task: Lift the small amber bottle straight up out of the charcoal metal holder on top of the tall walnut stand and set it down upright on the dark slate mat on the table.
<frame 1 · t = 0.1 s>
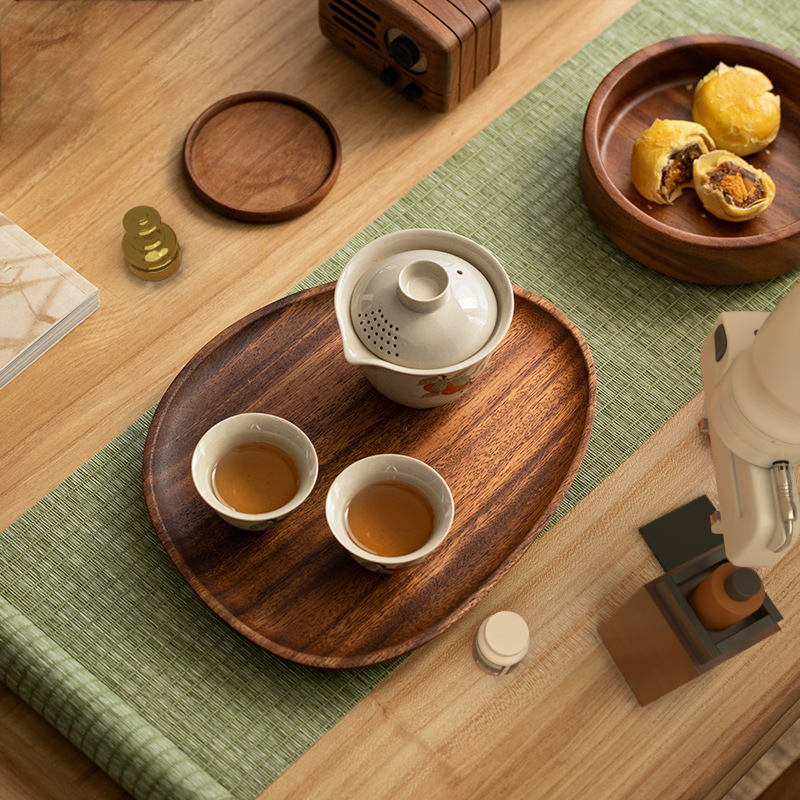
hand: (712, 475, 83), 31 cm above the table, tool pointing down, fingers open, 8 cm apart
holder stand: (653, 649, 107), on the table
pill bottle: (495, 652, 106), on the table
brass knob weight: (155, 261, 129), on the table
amber bottle: (711, 607, 89), point 20 cm above the table, touching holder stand
slate mat: (694, 547, 112), on the table
pepper mill: (731, 438, 119), on the table
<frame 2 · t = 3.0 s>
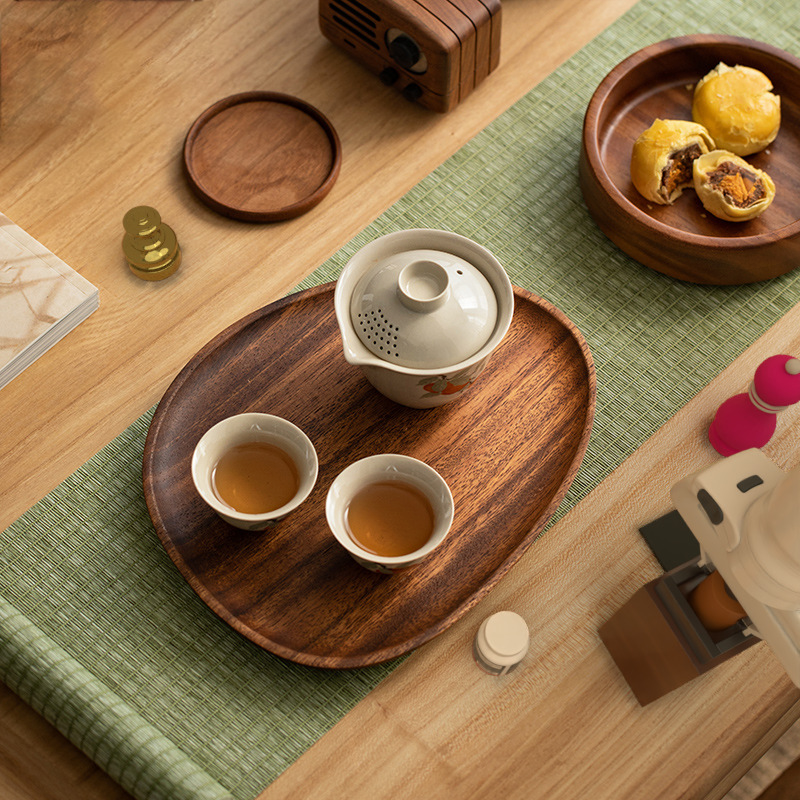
hand: (726, 595, 85), 24 cm above the table, tool pointing down, fingers closed on amber bottle, 5 cm apart
amber bottle: (711, 607, 89), point 20 cm above the table, touching gripper, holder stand
everything else where it was.
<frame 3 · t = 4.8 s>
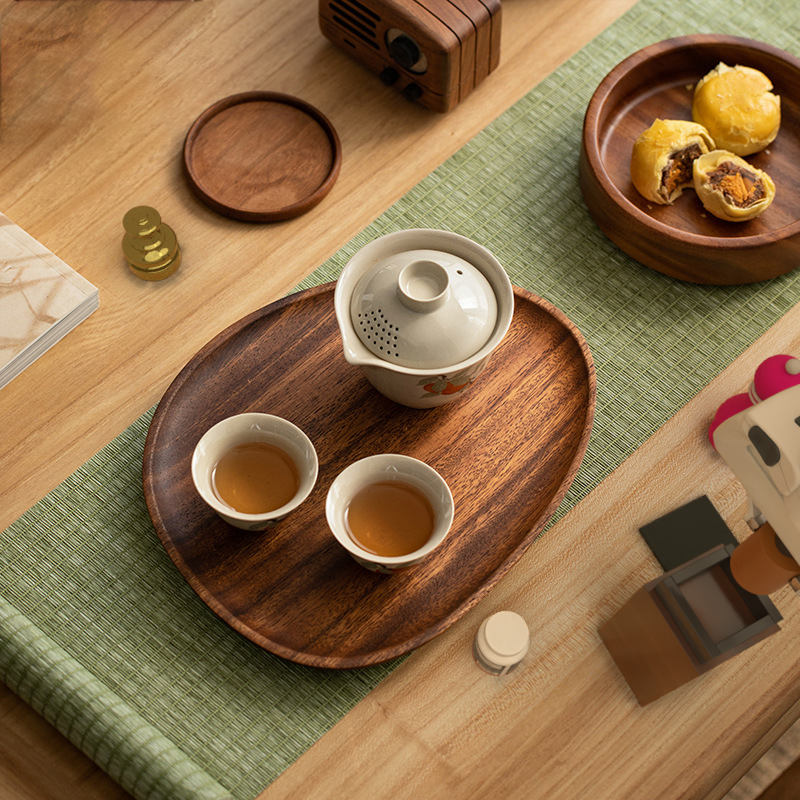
hand: (776, 553, 76), 35 cm above the table, tool pointing down, fingers closed on amber bottle, 5 cm apart
amber bottle: (757, 567, 80), point 31 cm above the table, touching gripper
everything else where it was.
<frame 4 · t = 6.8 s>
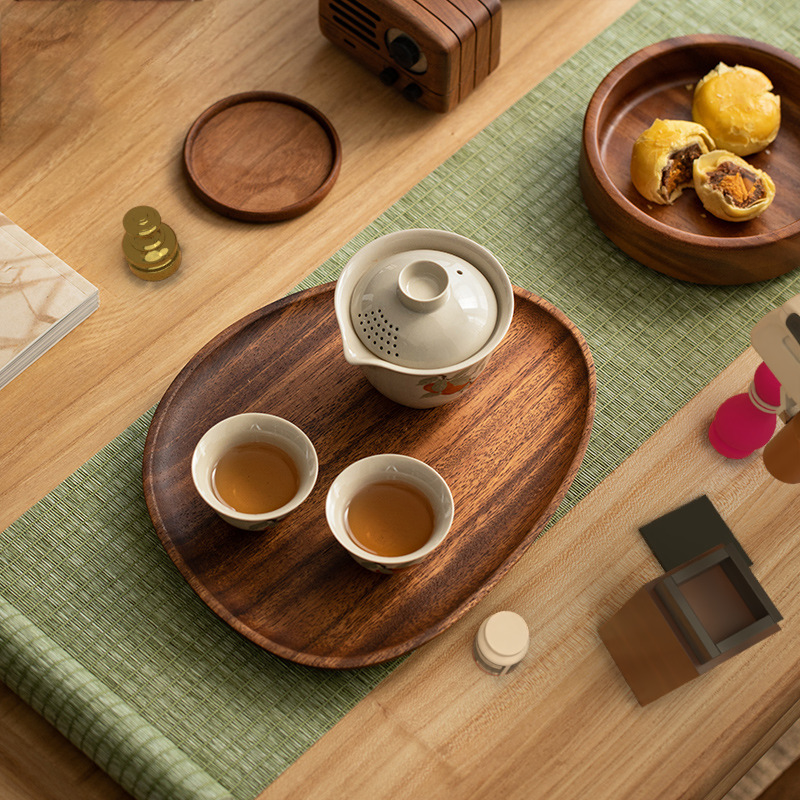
amber bottle: (787, 460, 88), point 27 cm above the table, touching gripper
everything else where it was.
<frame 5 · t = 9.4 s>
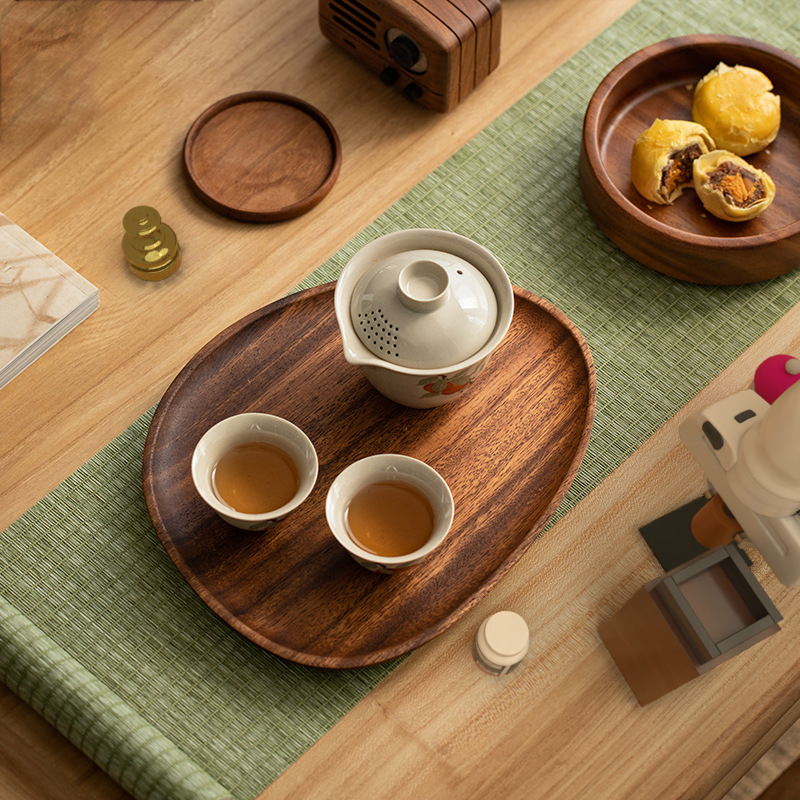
hand: (724, 516, 102), 11 cm above the table, tool pointing down, fingers closed on amber bottle, 5 cm apart
amber bottle: (711, 529, 106), point 7 cm above the table, touching gripper
everything else where it was.
when the fingers open (4 cm above the table, at t = 11.0 s): amber bottle stays where it is, resting on slate mat.
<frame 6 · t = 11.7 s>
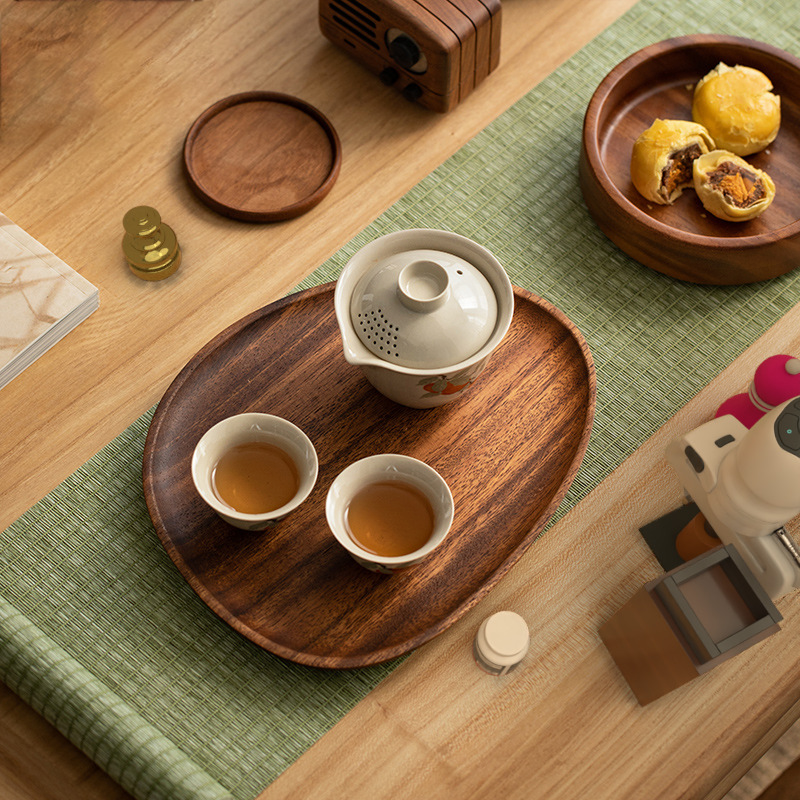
hand: (709, 533, 108), 5 cm above the table, tool pointing down, fingers open, 8 cm apart
amber bottle: (695, 546, 112), point 1 cm above the table, touching slate mat
everything else where it was.
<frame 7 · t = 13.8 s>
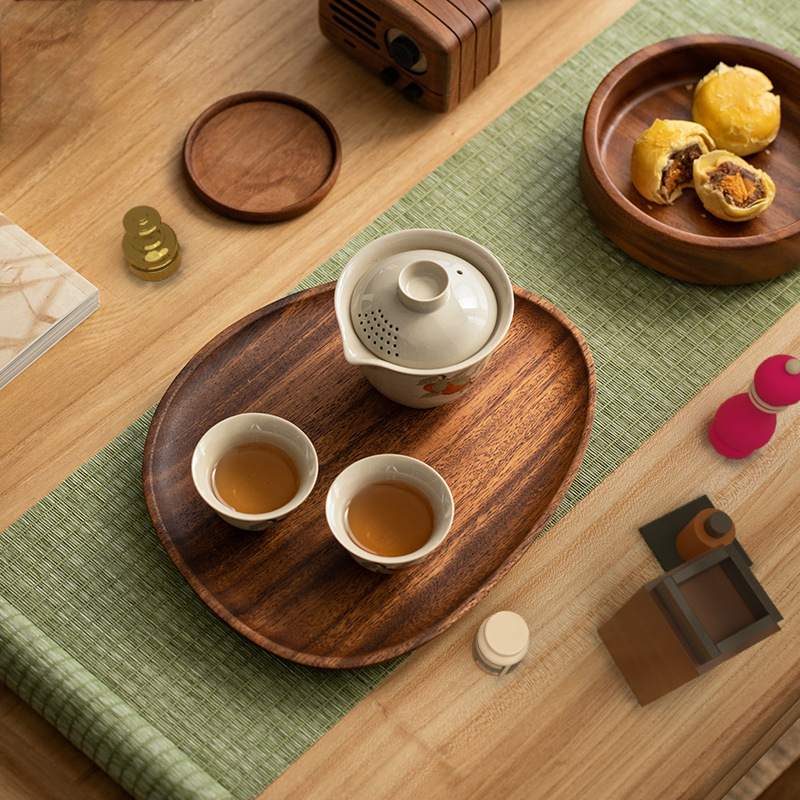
nothing on the table moved.
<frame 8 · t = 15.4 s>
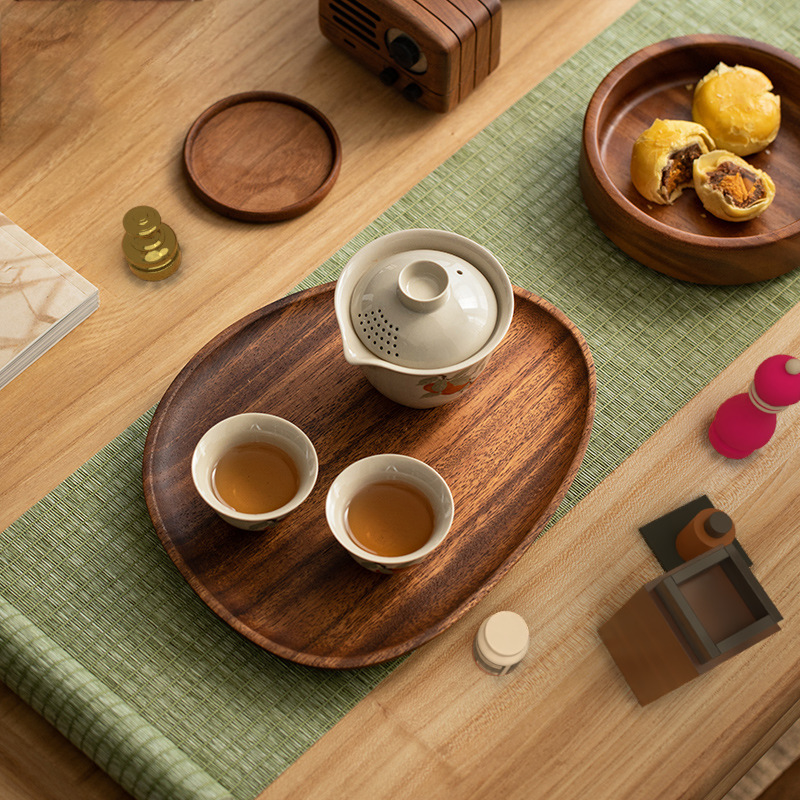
nothing on the table moved.
at the end: amber bottle inside the target area on the slate mat (0.2 cm from its centre), point 0.6 cm above the slate mat's base; amber bottle tilted 0°; the gripper is holding nothing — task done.
